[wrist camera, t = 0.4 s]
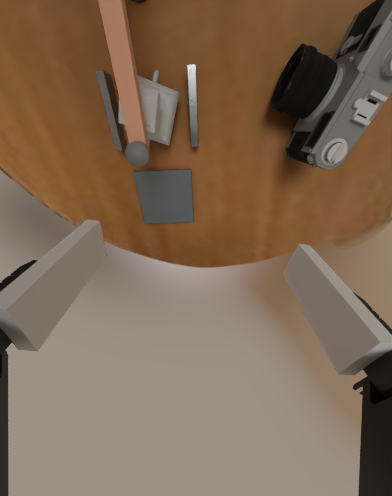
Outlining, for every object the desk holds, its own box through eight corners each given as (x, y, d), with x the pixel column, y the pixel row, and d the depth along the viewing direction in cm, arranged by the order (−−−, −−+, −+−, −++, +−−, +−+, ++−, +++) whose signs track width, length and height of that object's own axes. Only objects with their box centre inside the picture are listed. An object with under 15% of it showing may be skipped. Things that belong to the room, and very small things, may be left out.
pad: (134, 171, 32) (133, 172, 31) (190, 168, 31) (190, 169, 31) (145, 222, 37) (145, 223, 37) (193, 220, 37) (193, 222, 36)
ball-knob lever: (46, -208, 11) (9, -290, 9) (105, -216, 10) (82, -301, 8) (130, 163, 22) (123, 167, 20) (159, 162, 22) (155, 166, 20)
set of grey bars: (69, -66, 19) (-28, -211, 11) (191, -78, 18) (183, -239, 10) (121, 149, 30) (92, 157, 22) (198, 145, 29) (197, 152, 21)
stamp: (170, 152, 30) (161, 159, 23) (130, 139, 29) (108, 142, 22) (183, 83, 25) (177, 66, 18) (136, 65, 24) (110, 39, 17)
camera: (322, -28, 20) (410, -140, 12) (392, 14, 22) (514, -58, 13) (249, 144, 29) (268, 151, 21) (301, 165, 31) (339, 179, 23)
